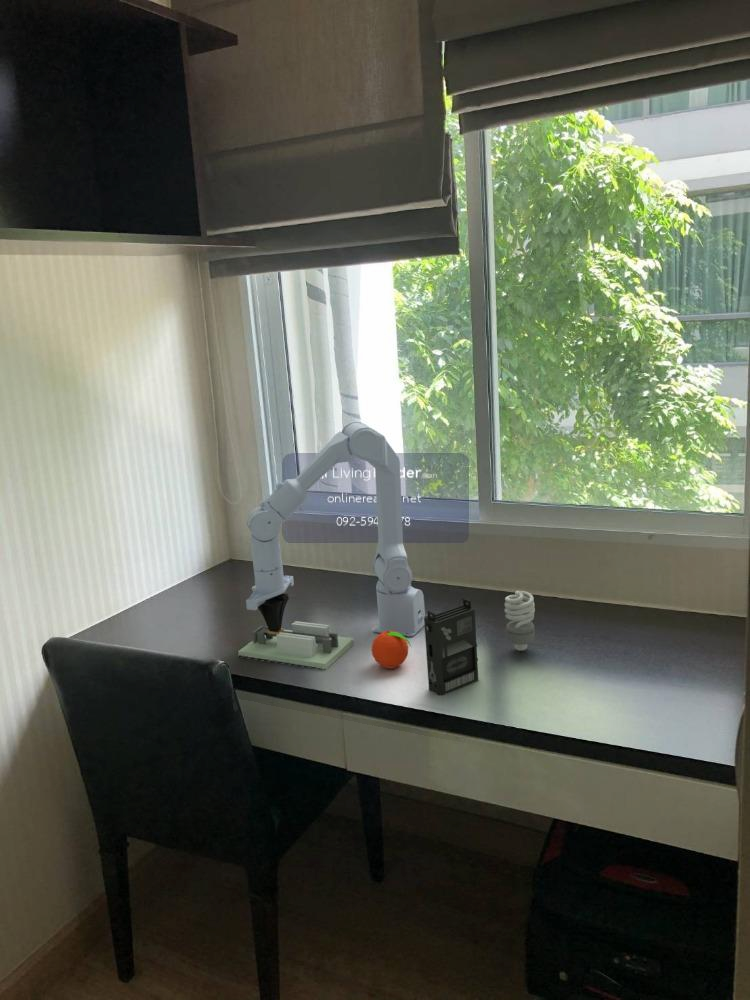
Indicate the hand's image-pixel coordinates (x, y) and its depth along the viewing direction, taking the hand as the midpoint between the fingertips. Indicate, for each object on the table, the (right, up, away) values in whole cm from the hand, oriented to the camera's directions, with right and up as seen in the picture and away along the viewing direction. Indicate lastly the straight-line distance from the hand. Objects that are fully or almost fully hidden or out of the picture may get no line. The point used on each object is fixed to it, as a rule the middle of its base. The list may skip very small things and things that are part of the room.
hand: (275, 630), depth 163 cm
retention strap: (+5, -1, -2) cm, 5 cm away
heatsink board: (+4, -4, -1) cm, 6 cm away
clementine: (+24, -5, -11) cm, 27 cm away
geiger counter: (+34, -6, -20) cm, 40 cm away
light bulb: (+48, -3, -9) cm, 49 cm away
